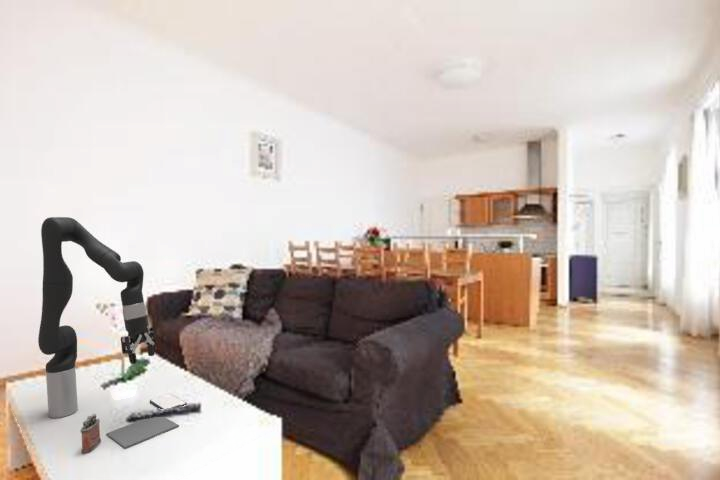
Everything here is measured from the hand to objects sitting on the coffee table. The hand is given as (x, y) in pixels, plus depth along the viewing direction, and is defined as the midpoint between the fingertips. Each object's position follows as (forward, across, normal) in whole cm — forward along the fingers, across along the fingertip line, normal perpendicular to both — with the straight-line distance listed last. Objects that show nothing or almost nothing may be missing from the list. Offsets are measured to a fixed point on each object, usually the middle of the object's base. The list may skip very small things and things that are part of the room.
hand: (142, 359), depth 155 cm
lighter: (+22, +20, -6) cm, 30 cm away
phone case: (+23, -12, -4) cm, 26 cm away
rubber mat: (+23, +8, +2) cm, 24 cm away
